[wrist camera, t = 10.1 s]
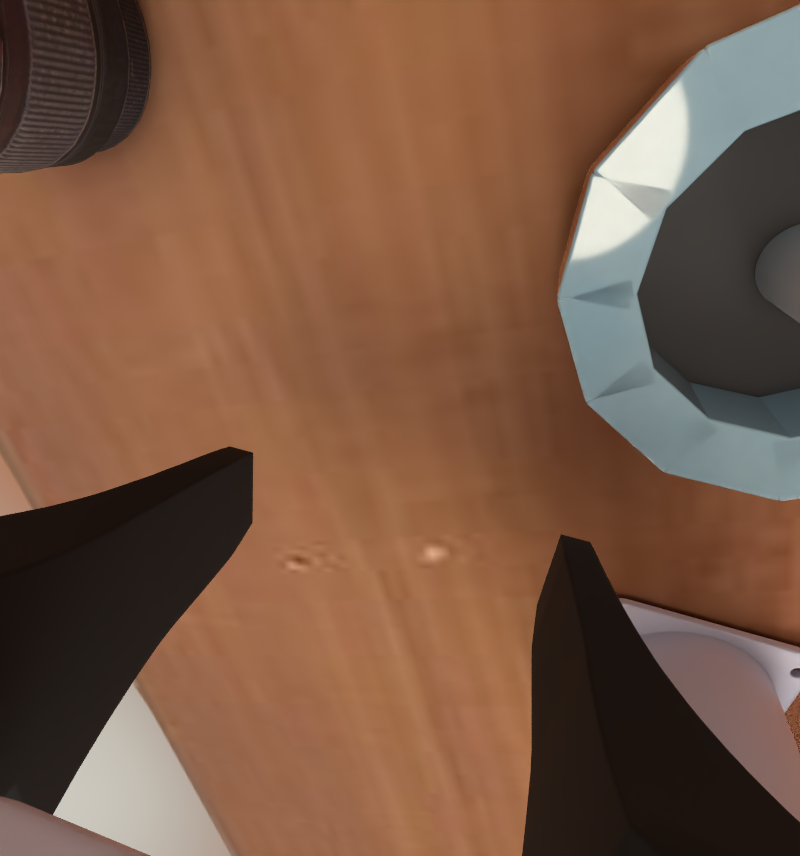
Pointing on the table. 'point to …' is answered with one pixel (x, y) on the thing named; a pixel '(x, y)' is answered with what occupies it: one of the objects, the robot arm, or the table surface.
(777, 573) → the table surface
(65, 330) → the table surface
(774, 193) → the stand
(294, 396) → the table surface
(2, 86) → the camera lens
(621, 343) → the ring
